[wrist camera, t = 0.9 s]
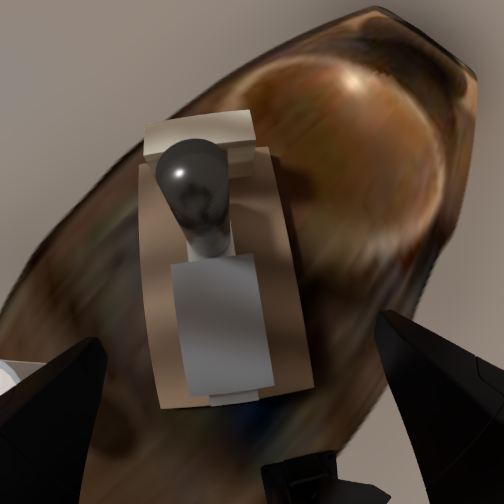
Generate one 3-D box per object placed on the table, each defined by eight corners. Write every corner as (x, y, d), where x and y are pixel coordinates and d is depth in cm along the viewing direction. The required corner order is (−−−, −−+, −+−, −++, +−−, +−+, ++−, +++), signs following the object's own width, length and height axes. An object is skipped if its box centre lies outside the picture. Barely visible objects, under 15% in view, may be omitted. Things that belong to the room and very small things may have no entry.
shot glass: (90, 406, 19) (47, 426, 12) (51, 433, 18) (10, 452, 11) (51, 343, 20) (2, 343, 13) (17, 375, 19) (-29, 380, 12)
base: (310, 384, 21) (337, 403, 15) (164, 404, 20) (140, 430, 14) (266, 153, 26) (275, 108, 20) (142, 171, 25) (121, 130, 19)
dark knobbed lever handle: (255, 389, 19) (278, 456, 8) (214, 395, 18) (191, 466, 7) (225, 194, 22) (219, 89, 11) (188, 200, 22) (155, 99, 11)
